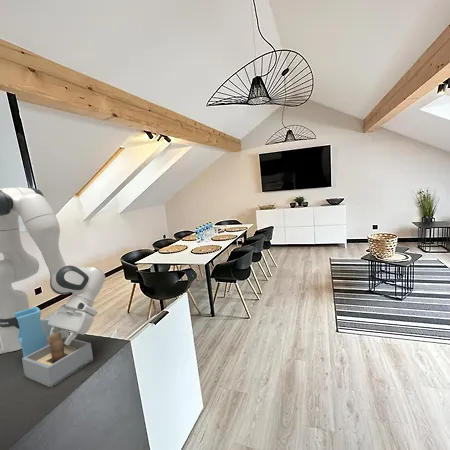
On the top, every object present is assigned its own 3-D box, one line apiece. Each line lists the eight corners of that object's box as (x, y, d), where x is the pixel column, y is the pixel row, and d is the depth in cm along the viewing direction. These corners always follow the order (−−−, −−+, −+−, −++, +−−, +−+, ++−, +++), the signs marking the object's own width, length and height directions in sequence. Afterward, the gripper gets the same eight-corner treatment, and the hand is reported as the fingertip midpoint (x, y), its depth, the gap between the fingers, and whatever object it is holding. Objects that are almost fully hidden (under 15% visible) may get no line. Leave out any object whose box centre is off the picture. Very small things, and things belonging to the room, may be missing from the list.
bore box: (25, 376, 99) (21, 358, 98) (67, 352, 113) (65, 336, 112) (51, 387, 92) (47, 368, 91) (93, 360, 106) (90, 343, 105)
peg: (51, 367, 102) (45, 337, 100) (61, 361, 105) (56, 331, 104) (57, 370, 100) (52, 339, 98) (68, 363, 103) (63, 333, 102)
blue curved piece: (22, 360, 110) (13, 313, 108) (45, 351, 115) (37, 306, 113) (25, 368, 104) (16, 318, 102) (49, 358, 110) (41, 310, 108)
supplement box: (57, 348, 117) (53, 320, 116) (43, 348, 119) (38, 320, 117) (70, 339, 124) (66, 312, 123) (57, 338, 126) (52, 312, 124)
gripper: (56, 300, 112) (34, 335, 105) (89, 306, 103) (67, 344, 95) (68, 306, 117) (48, 340, 109) (100, 312, 107) (81, 349, 100)
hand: (57, 342), depth 102 cm, fingers open, 8 cm apart
